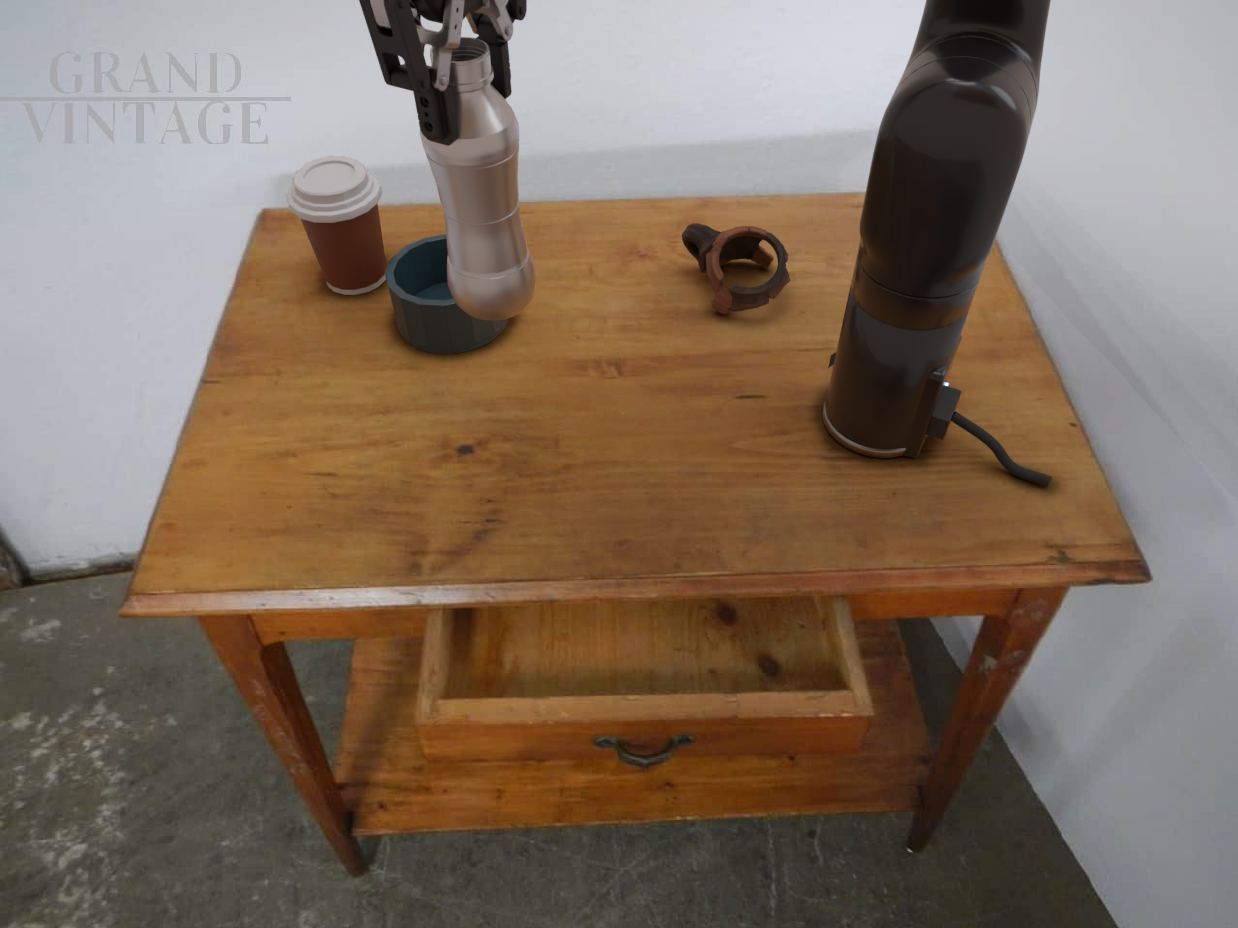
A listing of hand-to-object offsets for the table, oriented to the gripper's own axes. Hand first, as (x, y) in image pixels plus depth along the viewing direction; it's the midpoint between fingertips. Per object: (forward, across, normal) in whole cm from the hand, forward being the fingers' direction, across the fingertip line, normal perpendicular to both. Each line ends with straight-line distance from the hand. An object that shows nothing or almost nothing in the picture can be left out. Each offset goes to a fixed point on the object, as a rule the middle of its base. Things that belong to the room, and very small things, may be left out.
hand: (469, 116), depth 61 cm
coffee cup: (+30, +12, +26) cm, 42 cm away
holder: (+30, +11, +13) cm, 34 cm away
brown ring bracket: (+30, +28, -10) cm, 42 cm away
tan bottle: (+16, 0, 0) cm, 16 cm away
